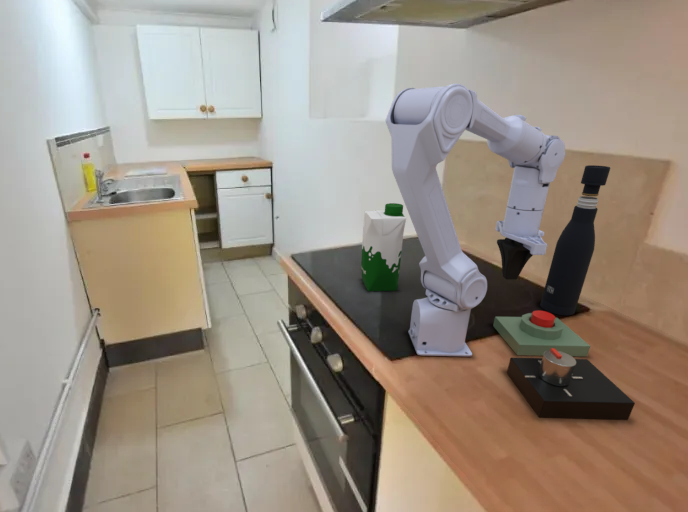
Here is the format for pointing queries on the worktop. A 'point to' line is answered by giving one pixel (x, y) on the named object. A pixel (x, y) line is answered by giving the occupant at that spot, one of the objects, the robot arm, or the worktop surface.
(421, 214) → the robot arm
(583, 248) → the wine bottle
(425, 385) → the worktop surface
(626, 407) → the control panel
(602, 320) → the worktop surface
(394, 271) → the milk carton
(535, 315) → the red button
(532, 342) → the button block
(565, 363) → the dial knob
